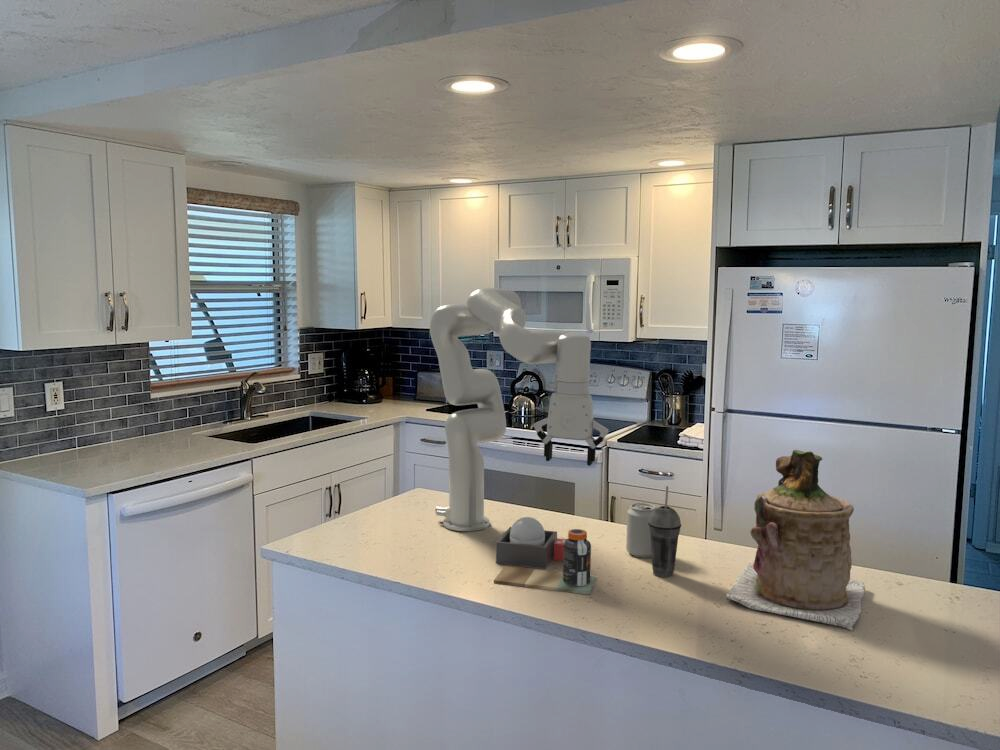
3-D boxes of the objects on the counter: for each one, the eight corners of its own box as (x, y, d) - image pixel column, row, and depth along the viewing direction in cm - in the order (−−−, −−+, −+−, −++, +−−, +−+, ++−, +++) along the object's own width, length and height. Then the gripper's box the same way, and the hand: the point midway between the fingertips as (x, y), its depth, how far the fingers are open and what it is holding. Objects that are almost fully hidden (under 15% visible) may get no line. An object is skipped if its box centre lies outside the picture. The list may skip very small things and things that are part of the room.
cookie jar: (867, 589, 158) (876, 443, 155) (856, 634, 137) (866, 466, 134) (748, 567, 171) (754, 431, 167) (722, 605, 150) (728, 451, 146)
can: (648, 561, 174) (650, 511, 173) (620, 554, 179) (621, 506, 177) (662, 552, 180) (664, 504, 179) (634, 546, 185) (636, 499, 183)
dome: (505, 555, 173) (505, 521, 172) (514, 544, 181) (515, 511, 180) (540, 559, 171) (540, 524, 170) (548, 548, 179) (548, 514, 178)
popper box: (495, 563, 172) (496, 542, 172) (509, 546, 184) (510, 526, 183) (565, 571, 168) (565, 549, 167) (575, 553, 179) (575, 533, 178)
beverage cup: (642, 576, 165) (645, 489, 163) (651, 565, 171) (654, 481, 169) (674, 582, 161) (677, 493, 159) (683, 571, 168) (686, 485, 166)
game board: (493, 582, 160) (493, 580, 160) (505, 568, 169) (505, 565, 169) (589, 594, 154) (589, 591, 154) (596, 578, 163) (596, 576, 163)
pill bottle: (591, 587, 157) (592, 535, 156) (564, 587, 157) (564, 535, 156) (588, 576, 163) (589, 526, 161) (561, 576, 163) (562, 526, 161)
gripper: (531, 388, 166) (528, 462, 168) (607, 393, 161) (603, 470, 163) (539, 383, 173) (537, 454, 175) (612, 389, 168) (609, 462, 170)
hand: (569, 462), depth 169 cm, fingers open, 9 cm apart
